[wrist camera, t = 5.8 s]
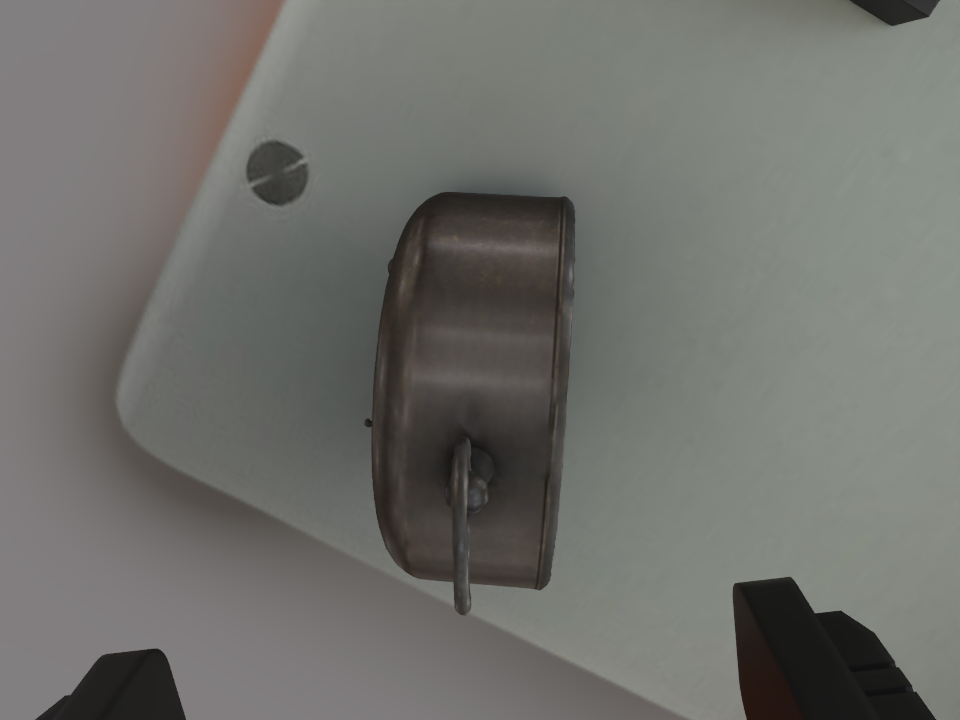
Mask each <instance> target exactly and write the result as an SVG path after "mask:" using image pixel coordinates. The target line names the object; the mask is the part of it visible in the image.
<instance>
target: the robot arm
mask: <svg viewBox="0 0 960 720" xmlns="http://www.w3.org/2000/svg"><path fill="white" fill-rule="evenodd" d="M733 606H734V619H735V632H736V645H737V658H738V671H739V683H740V690H741V696H742V701H743V706H744V710H745V714H746V718H747V720H936V719H935V717H934V716H933V715H932V713H931V712H930V710H929V709H928V708H927V706H926V705H925V703H924V702H923V701H922V699H921V698H920V696H919V695H918V694H917V692H913V689H912V685H911V684H910V682H909V681H908V679H907V678H906V677H905V675H904V674H903V672H902V671H901V670H900V668H899V667H897V668H896V665H895V661H894V660H893V658H892V657H891V656H890V654H889V653H888V651H887V650H886V649H885V647H884V646H883V644H882V643H881V642H880V640H879V639H878V637H877V636H876V635H875V633H874V632H872V631H871V630H869V629H868V628H866V627H865V626H863V625H862V624H860V623H859V622H857V621H856V620H854V619H853V618H851V617H850V616H848V615H847V614H845V613H844V612H842V611H833V612H824V613H814V611H813V610H812V608H811V606H810V605H809V603H808V602H807V600H806V598H805V597H804V595H803V594H802V592H801V590H800V589H799V587H798V586H797V584H796V582H795V581H794V580H793V579H792V578H791V577H785V578H776V579H767V580H759V581H750V582H741V583H735V584H734V586H733ZM36 720H186V718H185V715H184V712H183V708H182V705H181V702H180V698H179V695H178V692H177V688H176V685H175V682H174V679H173V675H172V672H171V669H170V665H169V662H168V660H167V658H166V656H165V654H164V653H163V652H162V651H161V650H159V649H147V650H139V651H130V652H122V653H113V654H105V655H103V656H101V657H100V658H99V659H98V660H97V661H96V662H95V664H94V665H93V666H92V668H91V669H90V670H89V672H88V673H87V674H86V675H85V677H84V678H83V679H82V681H81V682H80V684H79V685H78V686H77V687H76V689H75V690H74V691H73V693H72V694H71V695H68V696H64V697H63V698H62V699H61V700H59V701H58V702H57V703H56V704H54V705H53V706H52V707H51V708H49V709H48V710H47V711H46V712H44V713H43V714H42V715H41V716H39V717H38V718H37V719H36Z"/></svg>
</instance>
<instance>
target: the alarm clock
mask: <svg viewBox="0 0 960 720" xmlns="http://www.w3.org/2000/svg"><path fill="white" fill-rule="evenodd" d="M574 224H575V210H574V205H573V203H572V202H571V201H570V200H569V199H568V198H567V197H565V196H563V197H532V196H515V195H496V194H477V193H460V192H443V193H440V194H437V195H435V196H433V197H431V198H429V199H427V200H426V201H425V202H424V203H423V204H421V205H420V206H419V207H418V208H417V209H416V211H415V212H414V213H413V215H412V216H411V218H410V219H409V220H408V222H407V224H406V226H405V228H404V230H403V232H402V235H401V237H400V239H399V242H398V245H397V248H396V251H395V254H394V257H393V259H392V260H390V262H389V264H388V272H389V277H388V281H387V285H386V290H385V296H384V301H383V307H382V312H381V319H380V326H379V335H378V343H377V352H376V362H375V373H374V388H373V409H372V421H371V420H370V419H366V420H365V426H367V427H371V426H372V478H373V491H374V500H375V507H376V514H377V519H378V524H379V528H380V531H381V534H382V537H383V541H384V543H385V546H386V549H387V550H388V552H389V554H390V555H391V557H392V558H393V560H394V561H395V563H396V564H397V565H398V566H399V567H400V568H402V569H403V570H404V571H405V572H407V573H408V574H410V575H411V576H413V577H416V578H419V579H426V580H436V581H448V582H454V601H455V609H456V611H457V612H458V613H459V614H460V615H467V614H468V613H469V611H470V609H471V595H470V585H469V583H472V584H484V585H496V586H507V587H519V588H530V589H536V590H541V589H543V588H544V587H545V586H546V585H547V584H548V582H549V581H550V577H551V568H552V560H553V555H554V548H555V540H556V531H557V522H558V511H559V499H560V486H561V477H562V467H563V450H564V437H565V425H566V401H567V389H568V375H569V358H570V342H571V326H572V308H573V297H574V289H573V284H574V263H575V242H574V239H575V227H574Z"/></svg>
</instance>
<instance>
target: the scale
mask: <svg viewBox="0 0 960 720" xmlns="http://www.w3.org/2000/svg"><path fill="white" fill-rule="evenodd" d="M851 1H852V2H854V3H855V4H857V5H859V6H860V7H862V8H864V9H865V10H867V11H869V12H870V13H872V14H873V15H875V16H877V17H878V18H880V19H882V20H883V21H885V22H886V23H888V24H890V25H891V26H894V25H898V24H902V23H906V22H910V21H914V20H918V19H923V18H927V17H929V16H930V14H931V13H932V11H933V10H934V8H935V7H936V5H937V4H938V2H939V1H940V0H851Z"/></svg>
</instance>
